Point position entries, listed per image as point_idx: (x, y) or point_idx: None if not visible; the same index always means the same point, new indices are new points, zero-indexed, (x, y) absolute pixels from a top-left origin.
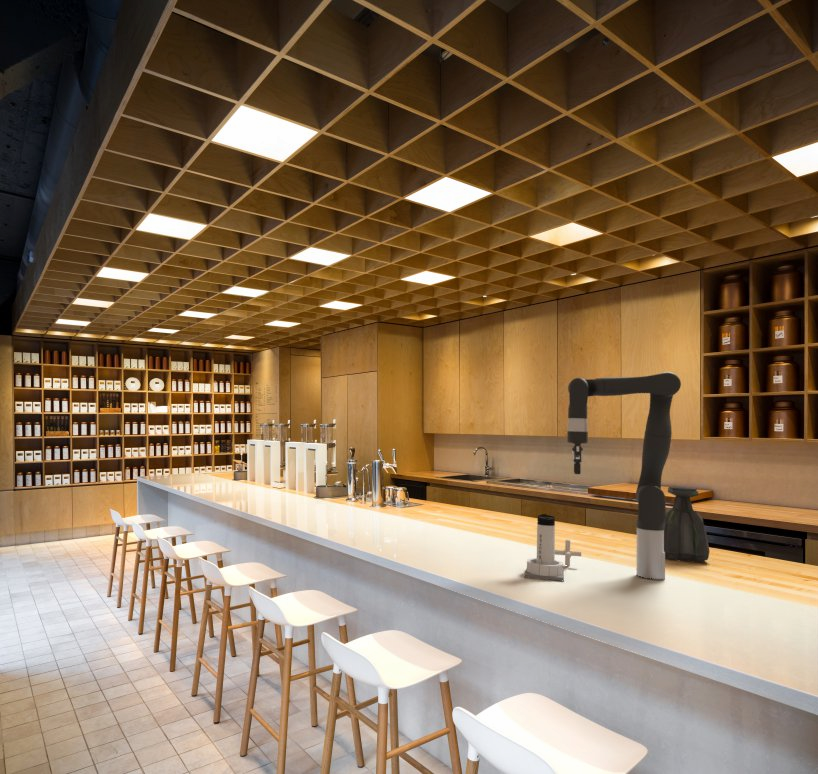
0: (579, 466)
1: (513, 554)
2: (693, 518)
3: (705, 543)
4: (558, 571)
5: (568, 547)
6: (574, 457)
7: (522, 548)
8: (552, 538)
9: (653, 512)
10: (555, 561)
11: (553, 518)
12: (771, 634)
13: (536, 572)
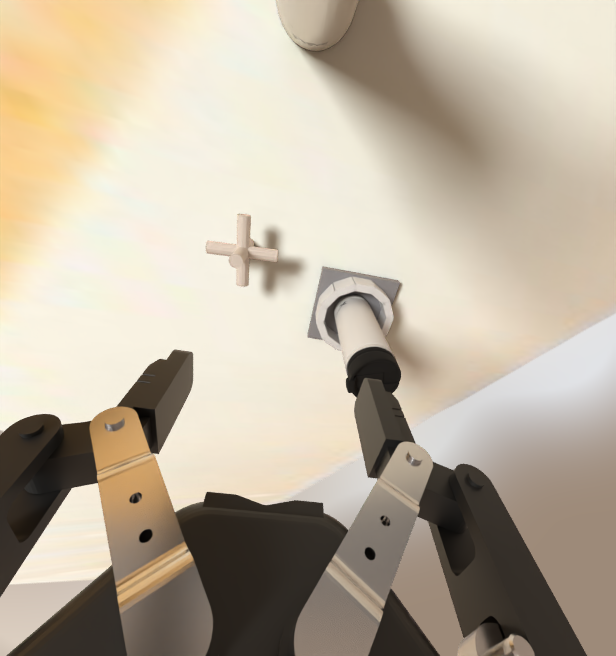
0: (410, 433)
1: (160, 343)
2: None
3: None
4: (384, 293)
5: (246, 255)
6: (473, 559)
7: (70, 318)
8: (384, 336)
9: None
10: (338, 296)
11: (392, 363)
12: None
13: None
